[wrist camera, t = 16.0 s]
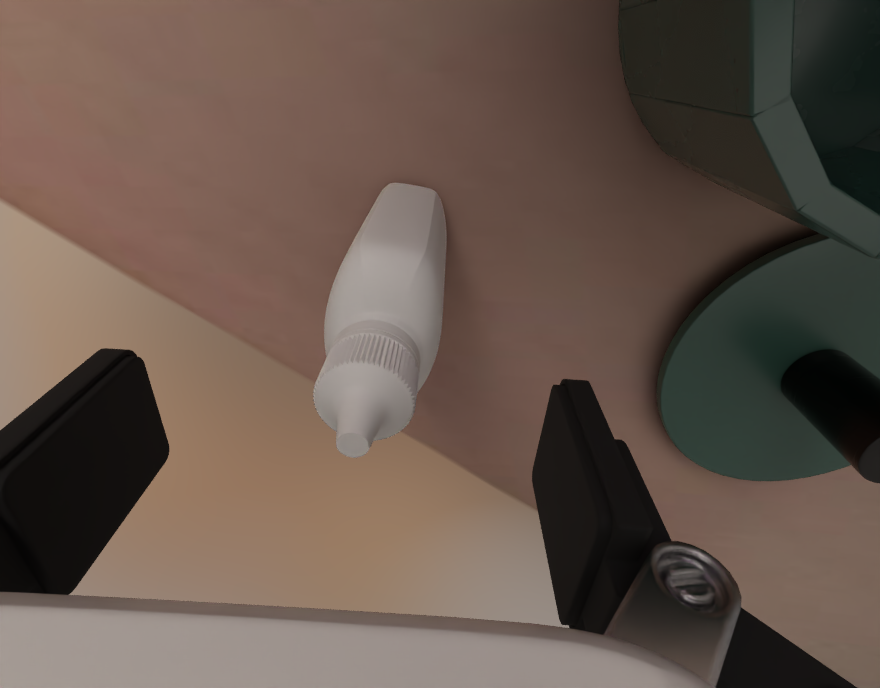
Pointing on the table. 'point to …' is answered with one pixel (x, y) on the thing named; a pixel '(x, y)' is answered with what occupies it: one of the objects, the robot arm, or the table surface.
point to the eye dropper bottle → (384, 319)
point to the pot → (767, 102)
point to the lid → (780, 368)
